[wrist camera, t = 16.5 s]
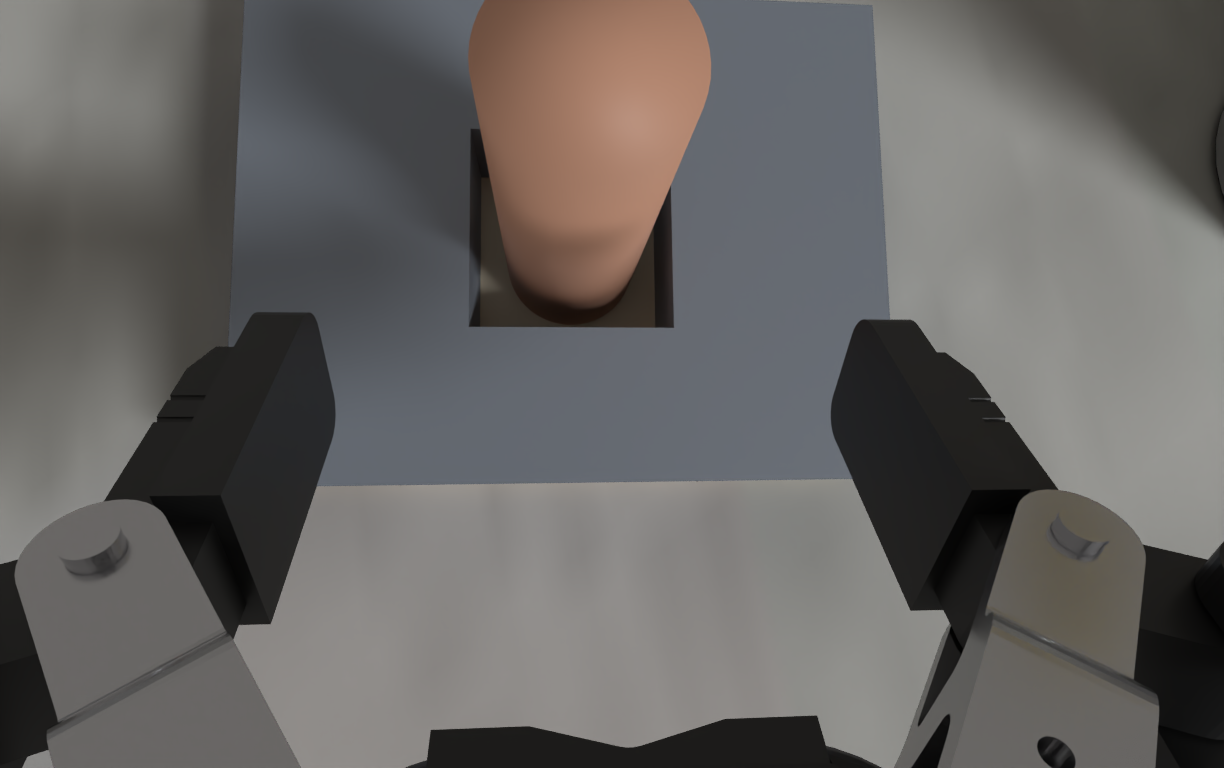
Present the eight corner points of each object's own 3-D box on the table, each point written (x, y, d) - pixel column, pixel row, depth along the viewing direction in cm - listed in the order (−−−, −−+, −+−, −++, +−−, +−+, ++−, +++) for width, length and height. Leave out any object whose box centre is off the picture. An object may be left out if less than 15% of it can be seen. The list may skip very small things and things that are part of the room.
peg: (630, 205, 25) (707, -48, 13) (633, 324, 24) (715, 179, 12) (507, 203, 24) (468, -58, 12) (507, 324, 24) (467, 175, 12)
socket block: (823, 75, 26) (872, 5, 22) (842, 477, 25) (898, 478, 21) (294, 56, 25) (245, -23, 21) (277, 484, 23) (221, 487, 19)
